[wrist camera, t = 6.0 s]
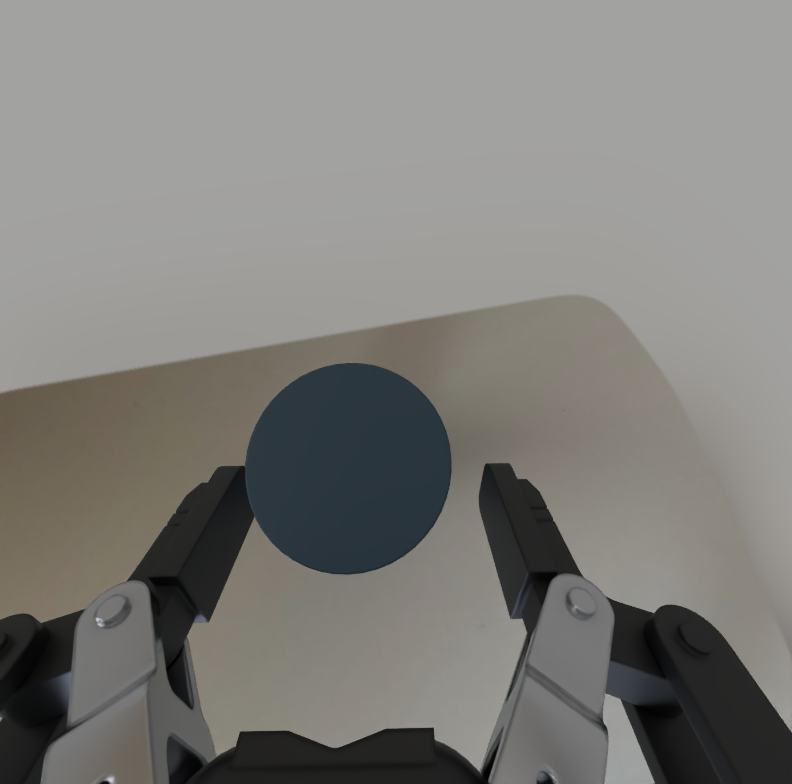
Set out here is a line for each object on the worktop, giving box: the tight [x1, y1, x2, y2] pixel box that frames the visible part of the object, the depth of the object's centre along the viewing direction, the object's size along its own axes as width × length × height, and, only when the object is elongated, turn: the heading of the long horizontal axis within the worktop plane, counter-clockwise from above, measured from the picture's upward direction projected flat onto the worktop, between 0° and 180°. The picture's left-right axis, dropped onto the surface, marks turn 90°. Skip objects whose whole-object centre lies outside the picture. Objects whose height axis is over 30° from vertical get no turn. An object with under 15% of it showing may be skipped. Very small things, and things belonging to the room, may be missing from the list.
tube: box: [245, 363, 451, 575], centre depth 13 cm, size 4×4×12 cm
